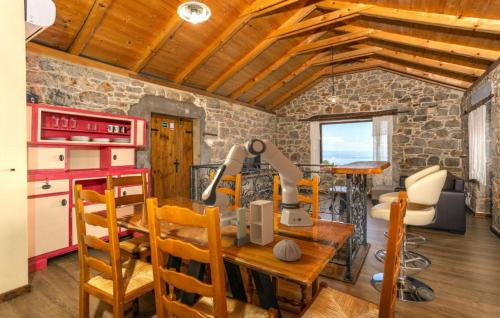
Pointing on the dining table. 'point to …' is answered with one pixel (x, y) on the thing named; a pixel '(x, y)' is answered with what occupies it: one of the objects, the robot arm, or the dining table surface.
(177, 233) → the dining table surface
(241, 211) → the door
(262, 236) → the cabinet
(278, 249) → the sea urchin shell
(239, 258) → the dining table surface
